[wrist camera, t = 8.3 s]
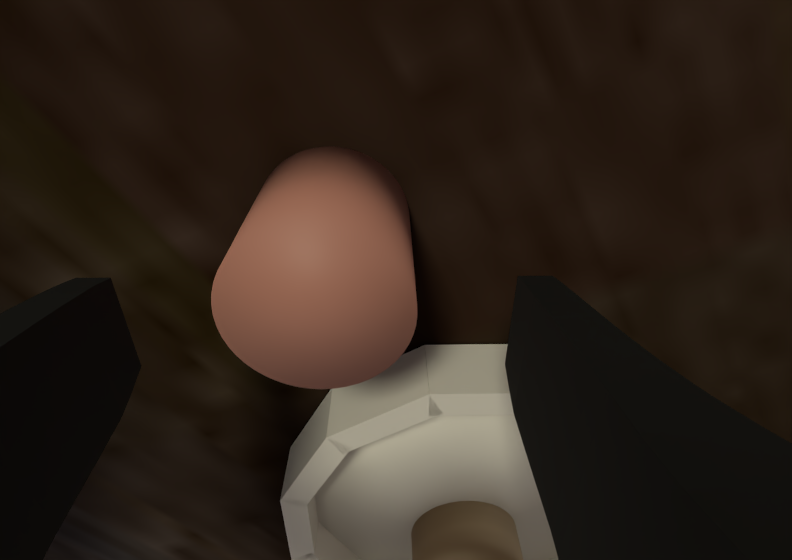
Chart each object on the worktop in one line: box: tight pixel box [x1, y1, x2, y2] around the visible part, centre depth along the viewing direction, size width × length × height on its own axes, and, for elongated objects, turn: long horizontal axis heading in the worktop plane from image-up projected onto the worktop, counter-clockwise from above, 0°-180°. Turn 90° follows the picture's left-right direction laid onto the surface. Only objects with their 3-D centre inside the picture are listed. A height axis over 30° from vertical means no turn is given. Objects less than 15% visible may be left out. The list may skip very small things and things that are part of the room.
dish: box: [280, 344, 558, 560], centre depth 18 cm, size 12×12×2 cm
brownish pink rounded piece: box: [211, 146, 417, 389], centre depth 11 cm, size 4×4×4 cm
